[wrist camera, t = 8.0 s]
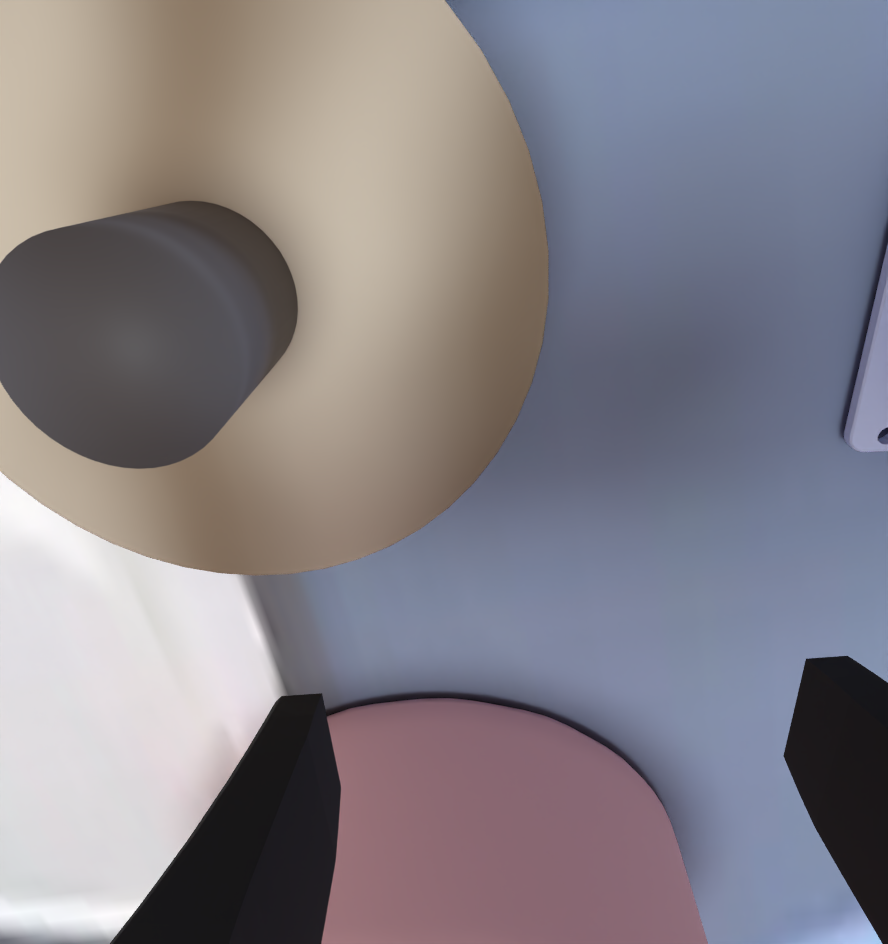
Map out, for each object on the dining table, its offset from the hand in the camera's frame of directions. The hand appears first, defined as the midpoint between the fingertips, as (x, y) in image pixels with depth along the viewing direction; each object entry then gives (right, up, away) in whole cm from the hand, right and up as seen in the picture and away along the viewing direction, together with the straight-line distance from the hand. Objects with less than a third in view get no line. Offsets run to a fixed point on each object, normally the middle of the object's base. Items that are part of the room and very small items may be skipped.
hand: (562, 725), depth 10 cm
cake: (-2, -13, +19) cm, 23 cm away
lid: (-6, +7, +3) cm, 10 cm away
